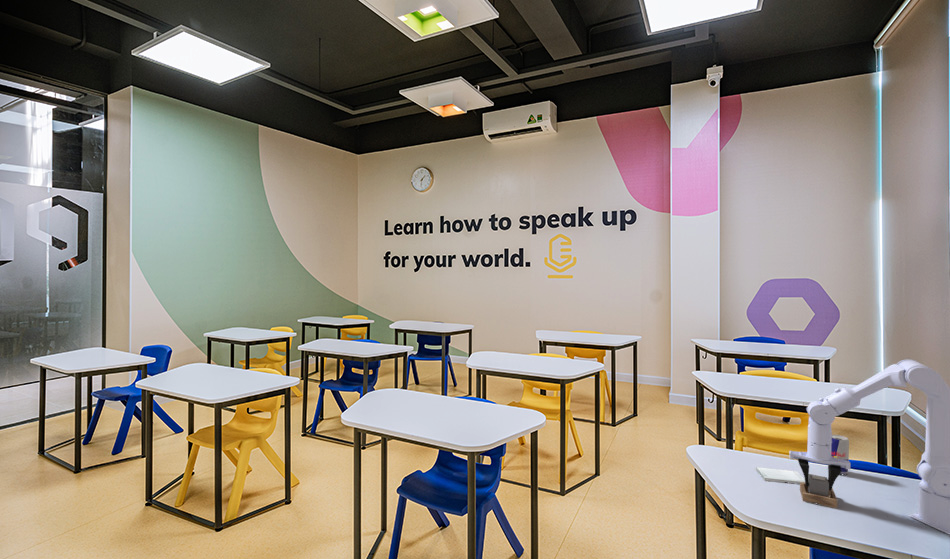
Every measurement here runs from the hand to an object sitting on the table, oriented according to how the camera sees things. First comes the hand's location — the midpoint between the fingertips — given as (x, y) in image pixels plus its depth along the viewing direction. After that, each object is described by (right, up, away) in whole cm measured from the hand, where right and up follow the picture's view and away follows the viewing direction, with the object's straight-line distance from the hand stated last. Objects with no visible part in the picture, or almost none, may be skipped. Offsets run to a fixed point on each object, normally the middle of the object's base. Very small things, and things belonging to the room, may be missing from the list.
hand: (818, 486), depth 137 cm
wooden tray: (0, -4, 0) cm, 4 cm away
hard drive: (-2, -4, +14) cm, 15 cm away
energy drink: (+20, -3, +18) cm, 27 cm away
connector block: (0, -2, 0) cm, 2 cm away
